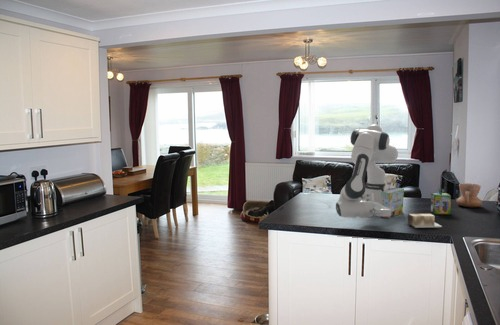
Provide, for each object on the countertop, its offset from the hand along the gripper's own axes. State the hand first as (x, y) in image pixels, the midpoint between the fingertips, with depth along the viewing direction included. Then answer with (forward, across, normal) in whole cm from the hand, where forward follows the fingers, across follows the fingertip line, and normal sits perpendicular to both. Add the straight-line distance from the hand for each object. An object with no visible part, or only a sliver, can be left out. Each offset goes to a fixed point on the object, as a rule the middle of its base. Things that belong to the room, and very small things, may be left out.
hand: (393, 208), depth 212 cm
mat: (+17, 0, +9) cm, 20 cm away
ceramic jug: (+66, +43, +9) cm, 79 cm away
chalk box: (+40, +28, +9) cm, 49 cm away
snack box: (+9, +24, +9) cm, 27 cm away
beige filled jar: (+9, 0, +6) cm, 11 cm away
